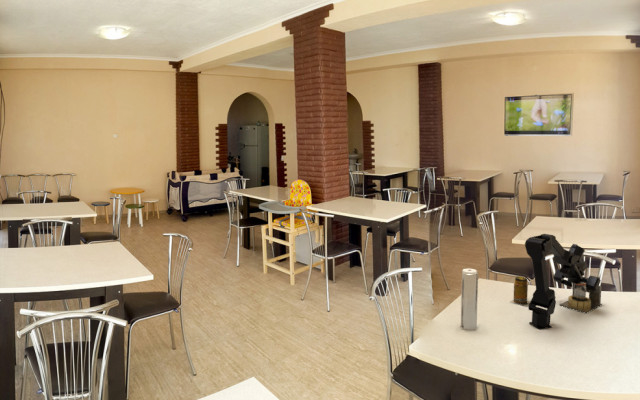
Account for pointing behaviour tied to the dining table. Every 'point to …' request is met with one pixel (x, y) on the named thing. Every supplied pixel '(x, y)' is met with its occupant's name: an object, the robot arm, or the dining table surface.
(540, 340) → the dining table surface
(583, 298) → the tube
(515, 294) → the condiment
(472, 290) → the silver cylinder
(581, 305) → the collar stand
